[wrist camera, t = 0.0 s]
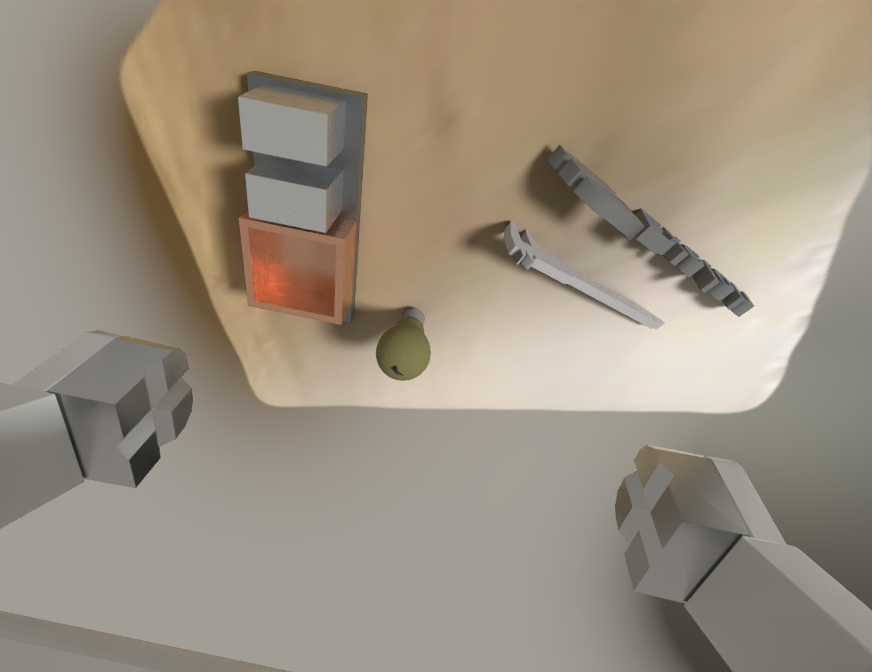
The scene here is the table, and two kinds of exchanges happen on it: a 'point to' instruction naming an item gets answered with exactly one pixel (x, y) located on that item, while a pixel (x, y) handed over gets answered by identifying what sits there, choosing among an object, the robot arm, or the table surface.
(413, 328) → the light bulb
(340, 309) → the desk organizer
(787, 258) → the table surface
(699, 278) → the block letters
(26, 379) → the robot arm
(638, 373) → the table surface
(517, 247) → the caliper
